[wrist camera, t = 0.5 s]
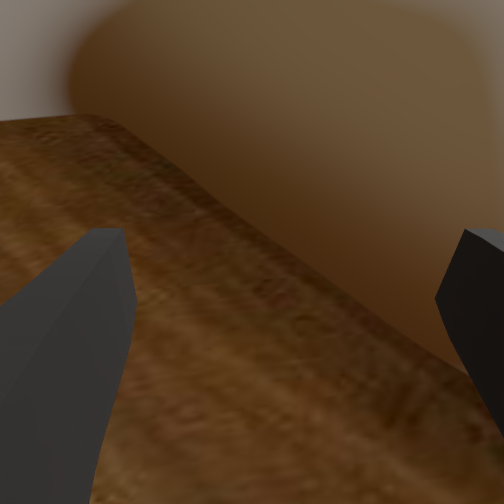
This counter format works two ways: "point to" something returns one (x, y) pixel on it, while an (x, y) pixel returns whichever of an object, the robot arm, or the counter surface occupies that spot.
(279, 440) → the counter surface
